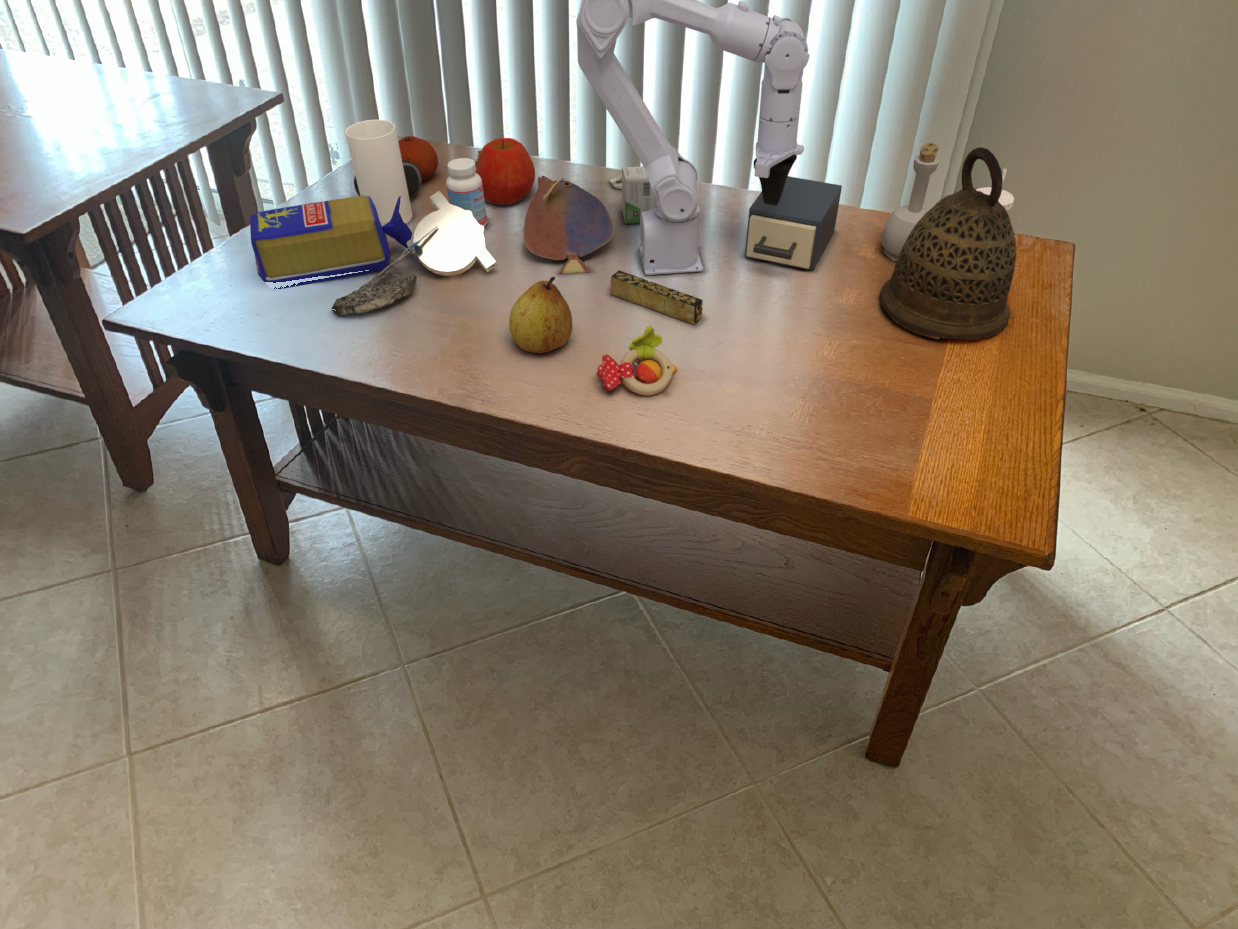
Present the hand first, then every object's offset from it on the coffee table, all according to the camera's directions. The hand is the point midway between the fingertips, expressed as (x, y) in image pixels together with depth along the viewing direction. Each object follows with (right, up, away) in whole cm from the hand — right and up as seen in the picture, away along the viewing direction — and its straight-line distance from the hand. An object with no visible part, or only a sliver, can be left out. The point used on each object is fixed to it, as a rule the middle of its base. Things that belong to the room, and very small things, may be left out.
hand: (771, 202), depth 134 cm
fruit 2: (-35, -23, -8) cm, 43 cm away
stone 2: (-51, +18, +29) cm, 61 cm away
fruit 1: (-63, +14, +32) cm, 72 cm away
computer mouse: (-66, +12, +24) cm, 72 cm away
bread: (-72, -8, +12) cm, 73 cm away
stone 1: (-62, -11, -2) cm, 63 cm away
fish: (-32, -4, +12) cm, 34 cm away
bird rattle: (-17, -30, -18) cm, 39 cm away
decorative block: (-18, -17, -2) cm, 25 cm away
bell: (+25, -17, -4) cm, 31 cm away
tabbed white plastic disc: (-48, -2, +9) cm, 48 cm away
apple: (-44, +9, +25) cm, 52 cm away
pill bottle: (-50, +1, +18) cm, 53 cm away
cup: (-65, +3, +21) cm, 68 cm away
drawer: (+4, -5, +8) cm, 10 cm away
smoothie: (+36, -6, +9) cm, 37 cm away
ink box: (-23, +6, +16) cm, 29 cm away
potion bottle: (+24, -6, +9) cm, 26 cm away
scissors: (-58, -8, +3) cm, 59 cm away
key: (-21, +10, +26) cm, 34 cm away
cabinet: (+5, -4, +11) cm, 13 cm away
